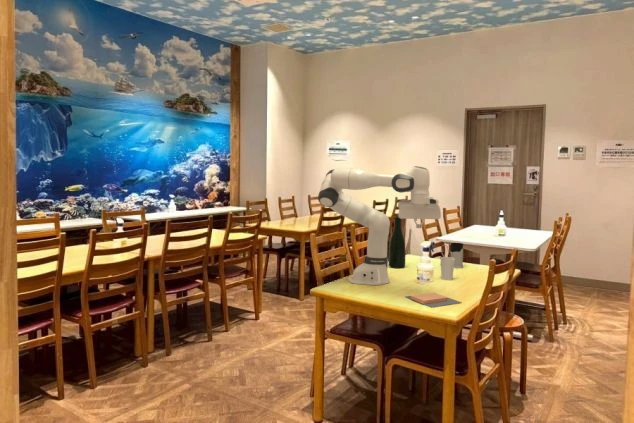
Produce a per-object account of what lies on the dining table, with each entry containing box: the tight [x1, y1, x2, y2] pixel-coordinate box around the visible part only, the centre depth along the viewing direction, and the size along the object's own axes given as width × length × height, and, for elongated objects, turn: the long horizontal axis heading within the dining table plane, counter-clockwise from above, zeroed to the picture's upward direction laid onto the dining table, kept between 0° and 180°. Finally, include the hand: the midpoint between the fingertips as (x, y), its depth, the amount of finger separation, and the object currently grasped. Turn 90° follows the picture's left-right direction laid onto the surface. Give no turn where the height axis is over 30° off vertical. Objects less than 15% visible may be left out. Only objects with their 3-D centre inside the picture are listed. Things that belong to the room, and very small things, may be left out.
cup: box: [440, 256, 455, 281], centre depth 286 cm, size 8×8×12 cm
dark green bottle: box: [388, 214, 406, 269], centre depth 317 cm, size 10×10×33 cm
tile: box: [410, 292, 447, 305], centre depth 241 cm, size 2×10×14 cm
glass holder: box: [440, 242, 464, 269], centre depth 320 cm, size 9×14×15 cm, turn 69°
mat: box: [404, 292, 462, 308], centre depth 242 cm, size 18×20×1 cm
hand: (419, 228), depth 246 cm, fingers closed
